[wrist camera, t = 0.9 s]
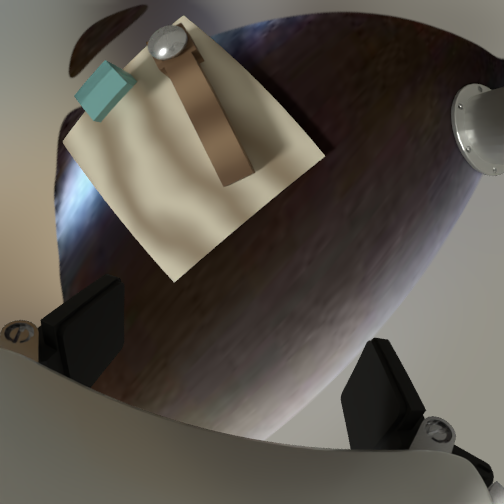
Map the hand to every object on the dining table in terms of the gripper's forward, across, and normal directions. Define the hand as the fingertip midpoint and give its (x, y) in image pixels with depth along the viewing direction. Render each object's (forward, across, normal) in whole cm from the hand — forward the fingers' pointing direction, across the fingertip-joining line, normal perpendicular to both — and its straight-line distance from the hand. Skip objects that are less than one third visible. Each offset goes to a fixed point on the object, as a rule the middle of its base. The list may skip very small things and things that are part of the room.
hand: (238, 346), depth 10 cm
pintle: (+22, +13, -17) cm, 31 cm away
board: (+23, +12, -7) cm, 27 cm away
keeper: (+22, +19, -12) cm, 31 cm away
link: (+21, +9, -12) cm, 26 cm away
